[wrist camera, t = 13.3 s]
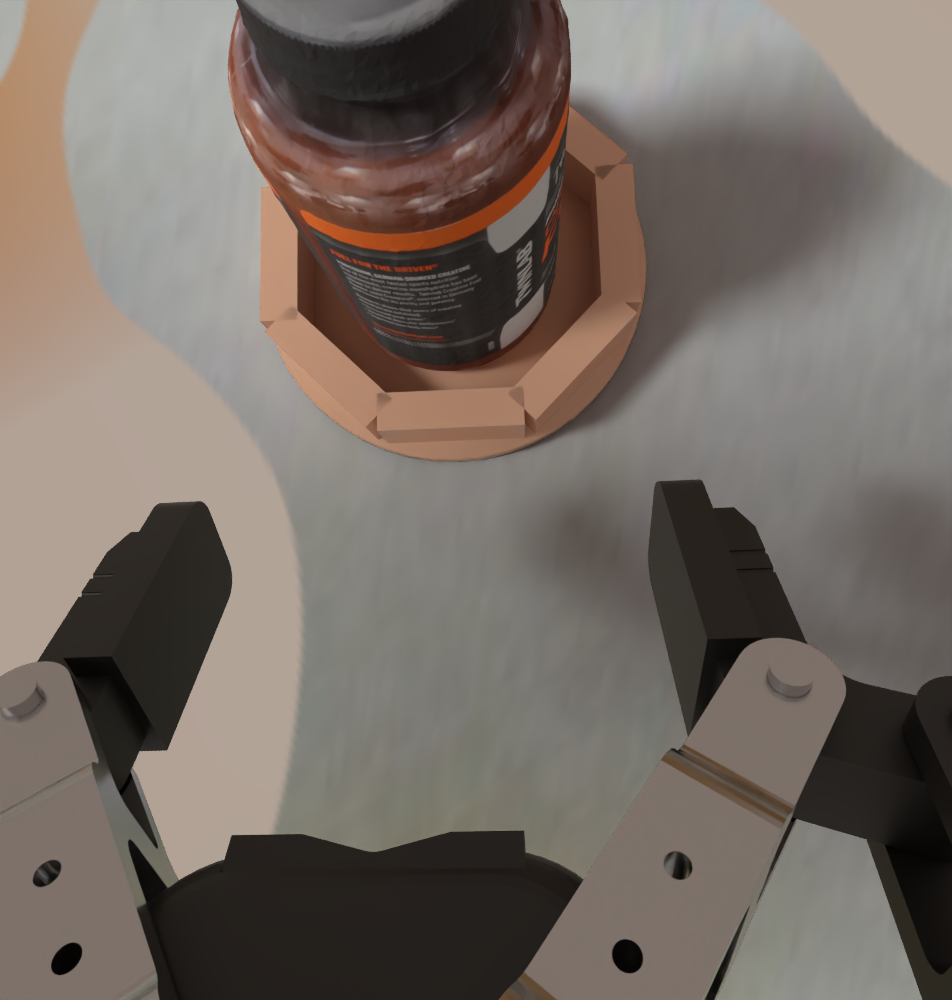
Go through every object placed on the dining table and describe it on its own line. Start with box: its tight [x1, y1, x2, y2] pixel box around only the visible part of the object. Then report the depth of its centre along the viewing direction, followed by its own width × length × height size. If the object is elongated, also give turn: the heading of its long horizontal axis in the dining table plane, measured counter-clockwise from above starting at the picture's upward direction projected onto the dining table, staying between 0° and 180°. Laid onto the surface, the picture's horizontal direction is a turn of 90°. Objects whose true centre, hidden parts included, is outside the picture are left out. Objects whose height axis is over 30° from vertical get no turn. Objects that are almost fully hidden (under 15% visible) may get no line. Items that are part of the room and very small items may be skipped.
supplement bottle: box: [228, 0, 571, 371], centre depth 15 cm, size 6×6×11 cm
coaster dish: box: [260, 106, 646, 462], centre depth 20 cm, size 11×11×2 cm
